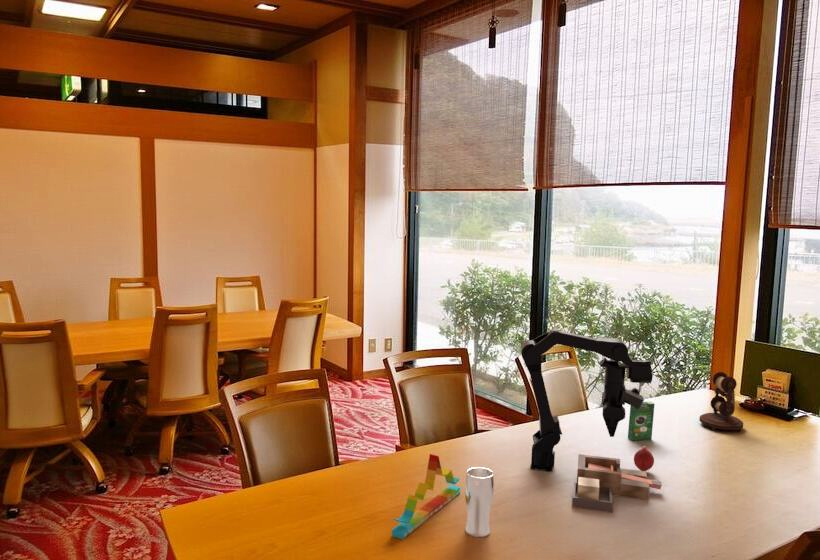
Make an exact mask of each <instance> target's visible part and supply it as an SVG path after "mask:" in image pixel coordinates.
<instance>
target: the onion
mask: <svg viewBox="0 0 820 560" xmlns="http://www.w3.org/2000/svg"><path fill="white" fill-rule="evenodd" d="M647 448H648V447H647V446H646V445H644V446H642V448H641V449H639V450H637V452H635V454H634V456H633V463H634V465H635V467H636V468H637V469H638V471H646V472H647V471H649V470H651V468H652V467H653V466H654V464H655V458H654V455H653V453H652V452H651V451H650V450H649V449H647Z"/></svg>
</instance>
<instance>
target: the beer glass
mask: <svg viewBox="0 0 820 560" xmlns="http://www.w3.org/2000/svg"><path fill="white" fill-rule="evenodd" d="M464 482H465V485H464V496H465V505H466V511H467V513H466V514H467V519H466V524H465V532H466V534H467V535H470V536H471V537H476V538H483V537H487V536H489V535H490V534H491V526H490V514H491V509H492V505H493V504H492V503H493V500H494V493H495V490H494V488H495V479H494V471H492V470H491V469H489V468H487V467H486V468H485V467H480V466H478V467H477V466H476V467H471V468H468V469H467V470H466V475H465V481H464Z"/></svg>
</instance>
